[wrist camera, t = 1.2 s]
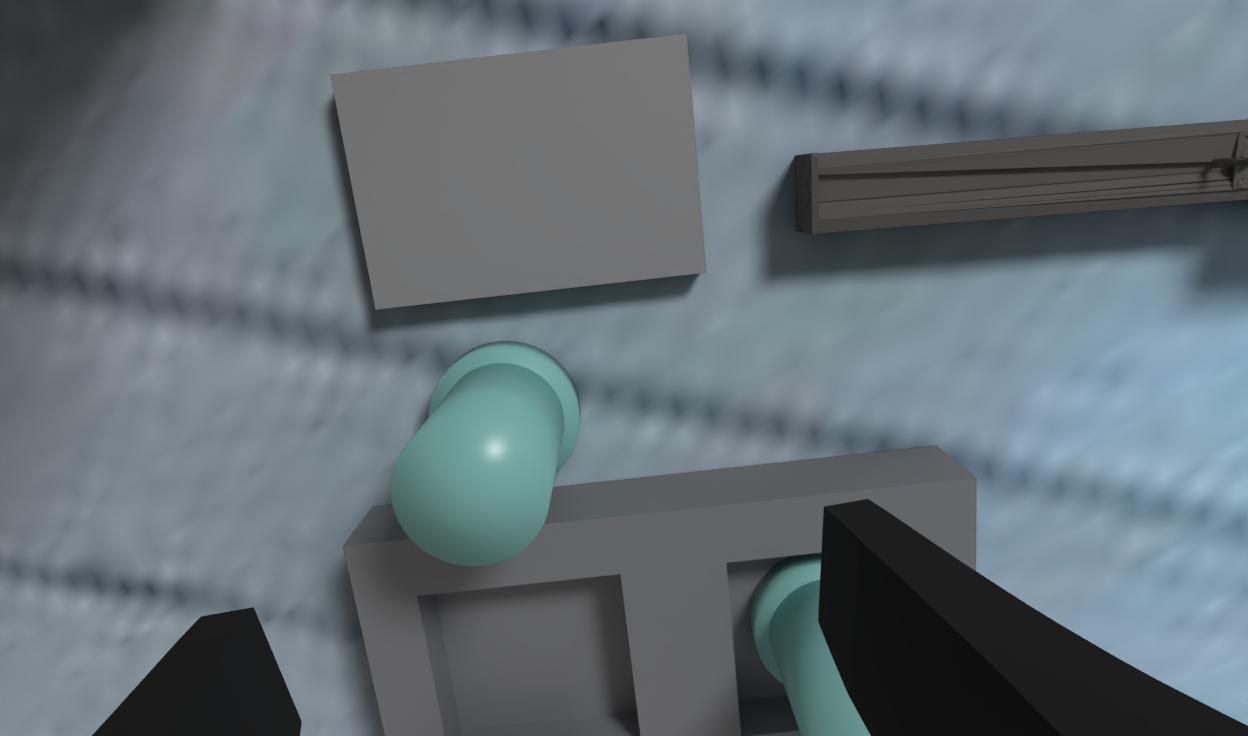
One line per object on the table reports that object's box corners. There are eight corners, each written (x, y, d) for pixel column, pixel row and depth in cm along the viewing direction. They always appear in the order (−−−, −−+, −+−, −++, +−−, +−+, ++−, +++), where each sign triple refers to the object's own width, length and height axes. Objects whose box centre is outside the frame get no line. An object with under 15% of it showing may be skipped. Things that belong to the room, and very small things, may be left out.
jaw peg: (588, 470, 22) (580, 572, 16) (449, 485, 22) (391, 592, 16) (570, 333, 21) (554, 389, 15) (425, 349, 21) (354, 411, 15)
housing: (938, 703, 24) (975, 761, 22) (424, 757, 24) (403, 820, 22) (936, 445, 22) (976, 477, 20) (372, 506, 22) (342, 546, 20)
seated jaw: (890, 665, 23) (986, 830, 17) (753, 679, 23) (802, 849, 17) (887, 541, 22) (987, 671, 16) (744, 556, 22) (792, 692, 16)
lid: (702, 269, 21) (706, 272, 20) (384, 304, 21) (375, 309, 20) (683, 39, 19) (686, 33, 19) (341, 79, 19) (330, 74, 19)
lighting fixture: (792, 251, 21) (833, 266, 17) (789, 155, 21) (832, 148, 17) (1452, 199, 21) (1655, 203, 17) (1470, 101, 20) (1686, 80, 16)
